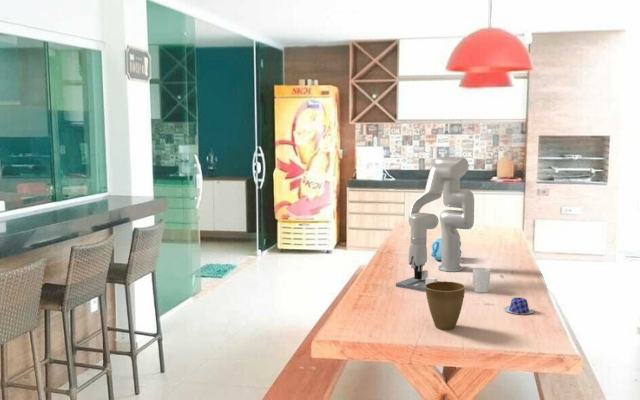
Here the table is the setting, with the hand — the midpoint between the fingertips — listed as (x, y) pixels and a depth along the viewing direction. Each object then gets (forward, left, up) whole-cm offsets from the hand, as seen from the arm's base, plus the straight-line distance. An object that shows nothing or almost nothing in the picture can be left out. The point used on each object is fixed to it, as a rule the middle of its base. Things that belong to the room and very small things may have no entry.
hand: (418, 278), depth 304 cm
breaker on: (+6, +11, -1) cm, 13 cm away
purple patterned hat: (+11, +55, -3) cm, 56 cm away
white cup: (-8, +29, -3) cm, 30 cm away
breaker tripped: (-4, 0, -1) cm, 4 cm away
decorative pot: (-57, -16, -3) cm, 59 cm away
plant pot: (+48, +41, -3) cm, 63 cm away
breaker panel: (+1, +5, -3) cm, 6 cm away
